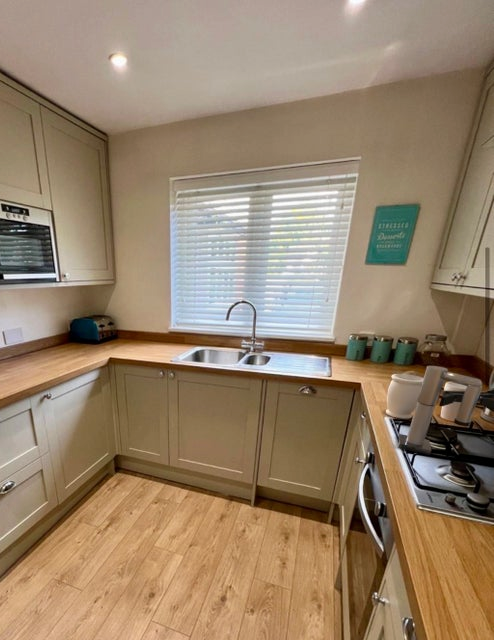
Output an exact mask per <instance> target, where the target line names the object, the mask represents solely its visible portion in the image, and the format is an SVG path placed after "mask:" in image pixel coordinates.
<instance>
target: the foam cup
mask: <svg viewBox="0 0 494 640" xmlns="http://www.w3.org/2000/svg"><path fill="white" fill-rule="evenodd" d="M466 388H467V386H465V385H461V384H457V383H454V382H450V381H446V382H445V384H444V387H443V392H444V391H466ZM460 405H461V402H453V403H452V404H449V405H445V406H441V411H440V418H441V419H443V420H446V421H449V422H453V423H454V419H455V418H456V417H457V414H458V411H459V408H460Z"/></svg>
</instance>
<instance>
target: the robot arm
mask: <svg viewBox="0 0 494 640" xmlns="http://www.w3.org/2000/svg"><path fill="white" fill-rule="evenodd" d="M464 394H465V391H444V390H443V392H442V394H441V398H440V401H439V404H438V406H439V407H442V406H445V405H449V404H452V403H453V402H462V399H463V396H464ZM476 406H480V407H483V408H486V409H487V410H489V411H490V412H493V413H494V387H492V388H490V389H488V390H486V391H485V392H484V393H482V392H481V393H480V395H479V398H478V401H477V404H476Z"/></svg>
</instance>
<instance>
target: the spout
mask: <svg viewBox="0 0 494 640" xmlns="http://www.w3.org/2000/svg"><path fill="white" fill-rule="evenodd" d="M445 381H446V382H454V383H457V384H461V385H465V386H467V388H466V391H465V394H464V396H463V399H462V402H461V405H460V408H459V411H458V414H457V417H456V418H455V419H454V422H453V423H454V425H456V426H457V425H458V426H461V427H470V425H471V420H472V417H473V415H474V412H475V409H476V406H477V405H476V404H477V401H478V398H479V395H480V393H481V394H482V390H483V386H482V385H483V381H482V380H481V379H479V378H476V377H471V376H467V375H463V374H459V373H454V372H452V371H449V369H448V368H446V367H443V366H437V365H426V368H425V373H424V376H423V382H422V386H421V389H420V392H419V396H418V399H417V401H418V402H419V403H422V404H426V405H435V406H437V405H438V402H439V400H440V396H441V393H442V389H443V386H444V383H445Z"/></svg>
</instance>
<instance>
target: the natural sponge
mask: <svg viewBox="0 0 494 640" xmlns="http://www.w3.org/2000/svg"><path fill="white" fill-rule="evenodd" d="M402 374H407V375H413V376H418V377H421V378H423V377H422V375H421V374H420V372H418V371H416V370H407V371H404V372H402Z"/></svg>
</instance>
